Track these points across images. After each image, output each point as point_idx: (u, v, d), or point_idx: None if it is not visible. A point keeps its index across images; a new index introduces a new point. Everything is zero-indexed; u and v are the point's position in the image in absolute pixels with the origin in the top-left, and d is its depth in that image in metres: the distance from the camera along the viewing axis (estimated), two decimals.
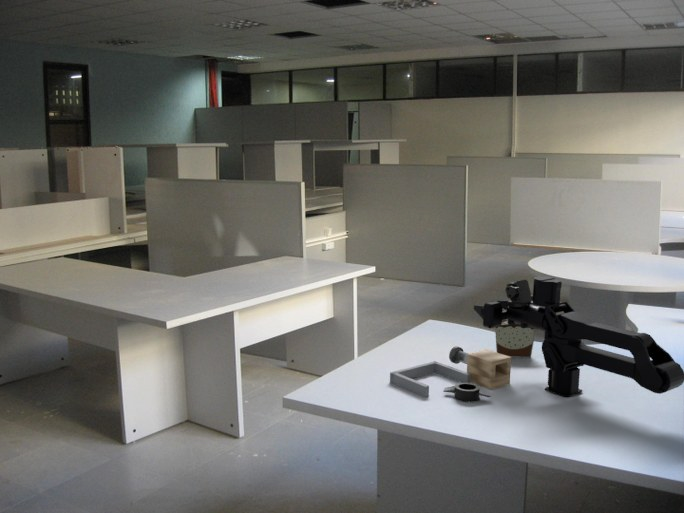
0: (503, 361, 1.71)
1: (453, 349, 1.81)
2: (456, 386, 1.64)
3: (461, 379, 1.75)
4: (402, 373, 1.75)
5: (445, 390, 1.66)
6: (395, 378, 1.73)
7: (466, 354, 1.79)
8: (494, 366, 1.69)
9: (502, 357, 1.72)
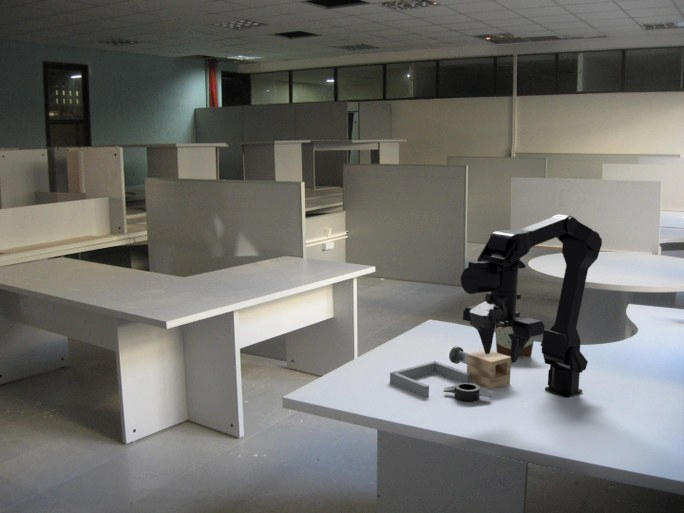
0: (503, 361, 1.71)
1: (453, 349, 1.81)
2: (456, 386, 1.64)
3: (461, 379, 1.75)
4: (402, 373, 1.75)
5: (445, 390, 1.66)
6: (395, 378, 1.73)
7: (466, 354, 1.79)
8: (494, 366, 1.69)
9: (502, 357, 1.72)
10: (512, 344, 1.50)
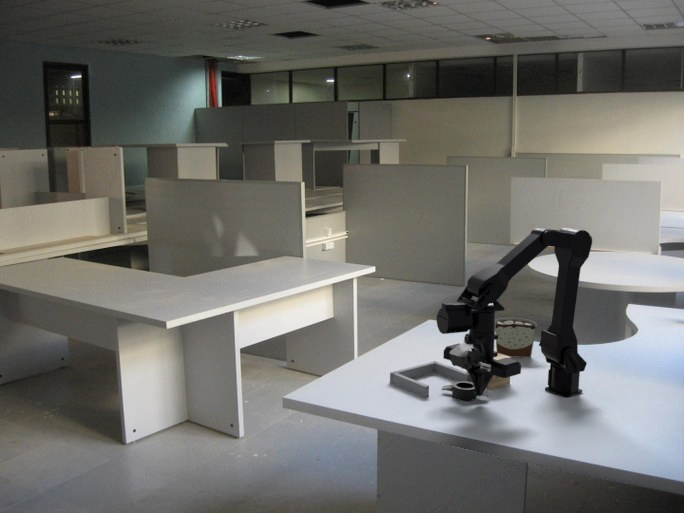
0: None
1: None
2: (454, 384, 1.65)
3: (461, 379, 1.75)
4: (402, 373, 1.75)
5: (443, 388, 1.67)
6: (395, 378, 1.73)
7: None
8: None
9: (502, 357, 1.72)
10: (478, 379, 1.59)
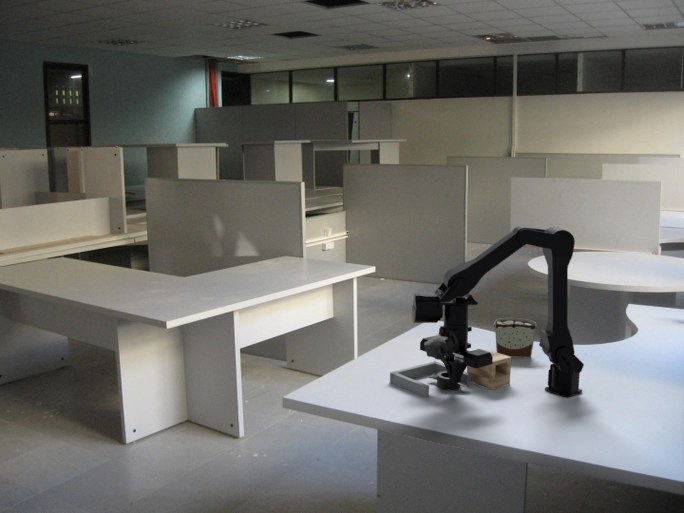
0: (503, 361, 1.71)
1: None
2: (439, 373, 1.72)
3: (461, 379, 1.75)
4: (402, 373, 1.75)
5: (430, 376, 1.75)
6: (395, 378, 1.73)
7: None
8: (494, 366, 1.69)
9: (502, 357, 1.72)
10: (452, 369, 1.65)
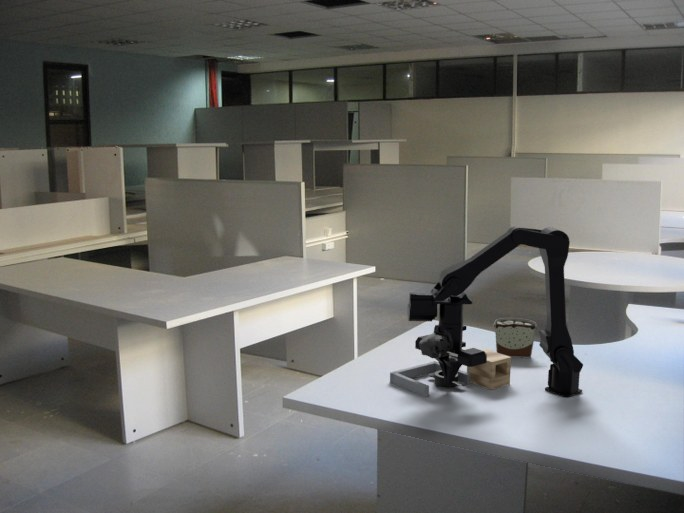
0: (503, 361, 1.71)
1: None
2: (436, 372, 1.74)
3: (461, 379, 1.75)
4: (402, 373, 1.75)
5: (429, 375, 1.77)
6: (395, 378, 1.73)
7: None
8: (494, 366, 1.69)
9: (502, 357, 1.72)
10: (447, 368, 1.67)
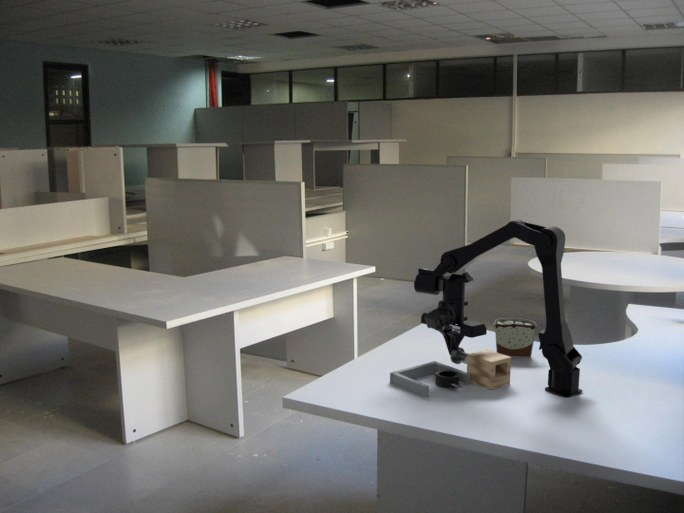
0: (503, 361, 1.71)
1: (454, 350, 1.81)
2: (439, 371, 1.75)
3: (461, 379, 1.75)
4: (402, 373, 1.75)
5: (435, 373, 1.78)
6: (395, 378, 1.73)
7: (467, 354, 1.79)
8: (494, 366, 1.69)
9: (502, 357, 1.72)
10: (450, 340, 1.82)
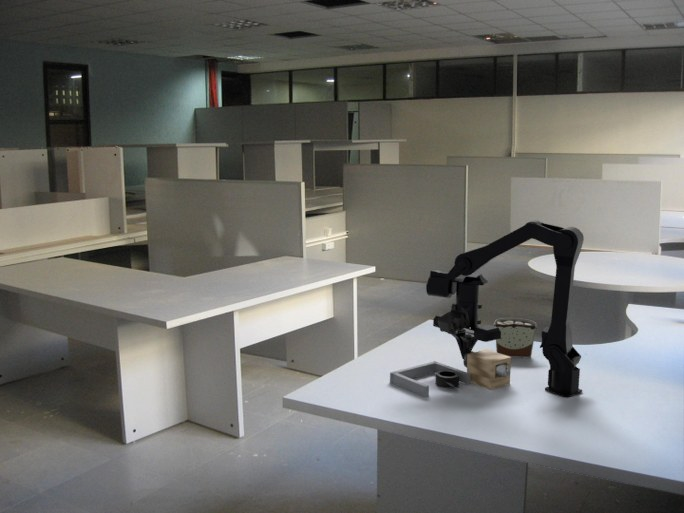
0: (503, 361, 1.71)
1: (467, 354, 1.77)
2: (440, 371, 1.75)
3: (461, 379, 1.75)
4: (402, 373, 1.75)
5: None
6: (395, 378, 1.73)
7: None
8: (494, 366, 1.69)
9: (502, 357, 1.72)
10: (463, 344, 1.78)
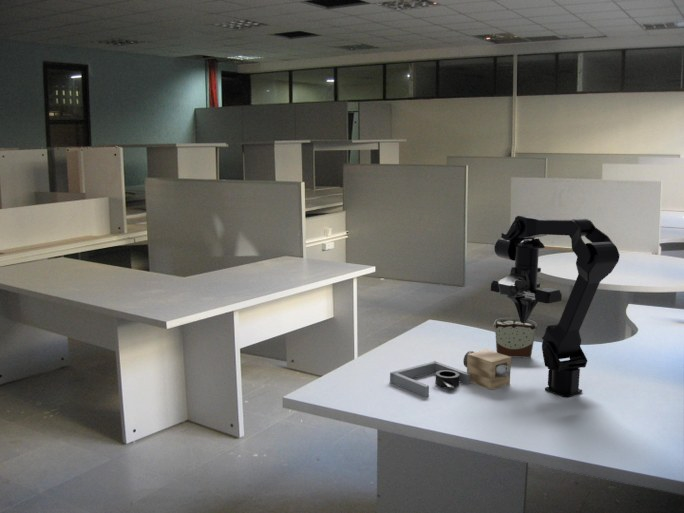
0: (503, 361, 1.71)
1: (467, 354, 1.77)
2: (442, 370, 1.75)
3: (461, 379, 1.75)
4: (402, 373, 1.75)
5: None
6: (395, 378, 1.73)
7: None
8: (494, 366, 1.69)
9: (502, 357, 1.72)
10: (523, 307, 1.80)
